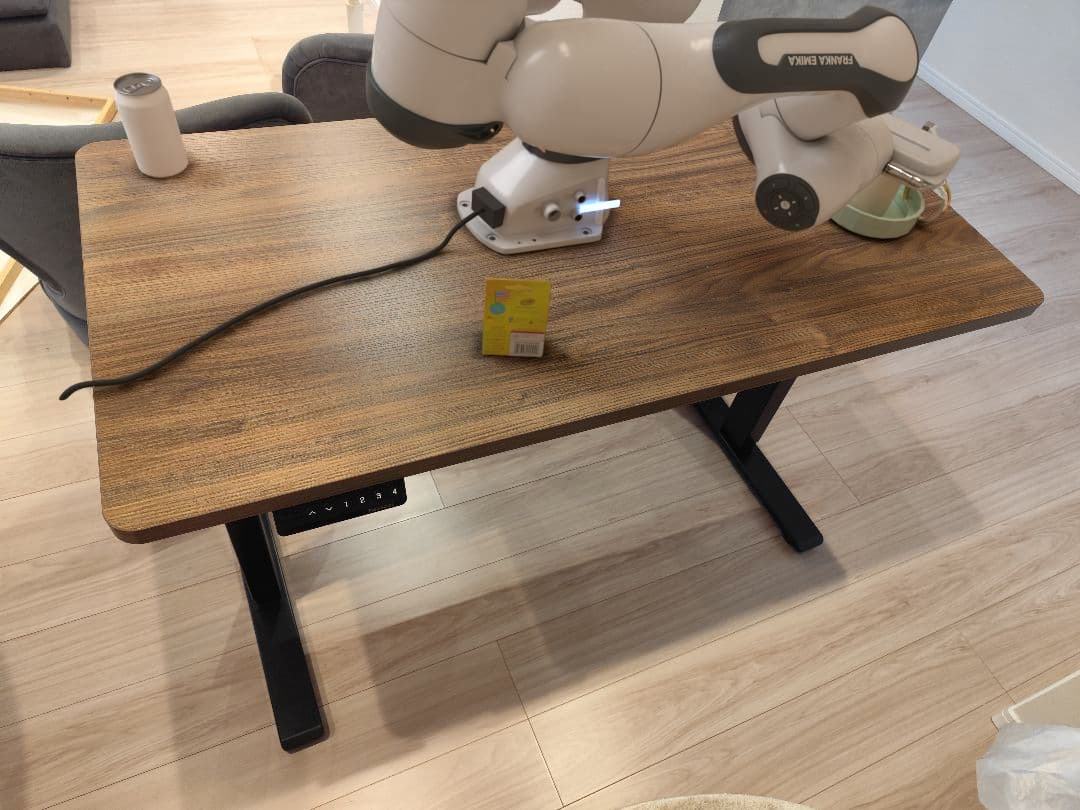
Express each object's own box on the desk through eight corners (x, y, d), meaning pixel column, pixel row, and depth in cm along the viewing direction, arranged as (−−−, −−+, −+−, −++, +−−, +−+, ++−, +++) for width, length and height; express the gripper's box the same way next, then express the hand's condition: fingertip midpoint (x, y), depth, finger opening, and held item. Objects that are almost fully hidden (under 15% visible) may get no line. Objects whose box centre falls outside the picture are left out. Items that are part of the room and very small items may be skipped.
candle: (885, 223, 112) (919, 165, 105) (850, 215, 113) (880, 157, 105) (882, 202, 116) (914, 145, 108) (847, 195, 116) (877, 138, 108)
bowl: (866, 252, 108) (878, 230, 105) (795, 195, 116) (805, 173, 113) (931, 227, 114) (945, 206, 111) (860, 174, 122) (871, 153, 119)
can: (199, 165, 103) (176, 83, 94) (161, 185, 100) (133, 101, 90) (167, 147, 105) (141, 65, 96) (128, 166, 101) (97, 83, 92)
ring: (889, 208, 116) (915, 164, 110) (903, 204, 117) (929, 160, 111) (922, 234, 112) (951, 190, 106) (936, 230, 114) (965, 185, 108)
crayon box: (541, 340, 89) (553, 266, 80) (542, 358, 88) (555, 285, 79) (480, 337, 89) (486, 262, 80) (480, 355, 87) (486, 280, 78)
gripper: (947, 168, 80) (989, 125, 87) (785, 89, 87) (836, 56, 94) (918, 216, 84) (959, 171, 92) (766, 138, 91) (816, 102, 99)
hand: (896, 112), depth 93 cm, fingers open, 8 cm apart
